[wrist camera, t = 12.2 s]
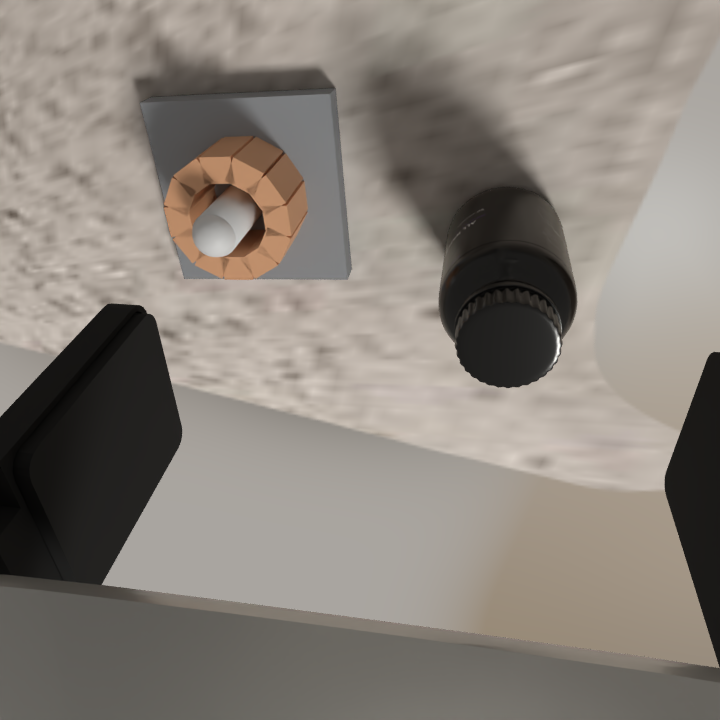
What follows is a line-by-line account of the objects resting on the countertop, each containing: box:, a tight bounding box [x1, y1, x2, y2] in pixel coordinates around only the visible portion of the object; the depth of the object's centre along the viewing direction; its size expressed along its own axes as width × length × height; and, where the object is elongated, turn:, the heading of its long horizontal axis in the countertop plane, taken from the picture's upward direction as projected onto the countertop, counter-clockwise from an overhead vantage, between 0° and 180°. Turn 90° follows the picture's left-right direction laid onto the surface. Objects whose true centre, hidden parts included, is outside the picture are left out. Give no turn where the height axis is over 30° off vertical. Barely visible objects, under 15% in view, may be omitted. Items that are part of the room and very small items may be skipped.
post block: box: [140, 88, 352, 280], centre depth 36 cm, size 11×11×8 cm
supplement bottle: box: [439, 187, 577, 388], centre depth 33 cm, size 7×7×12 cm
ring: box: [164, 136, 308, 280], centre depth 36 cm, size 7×7×4 cm
